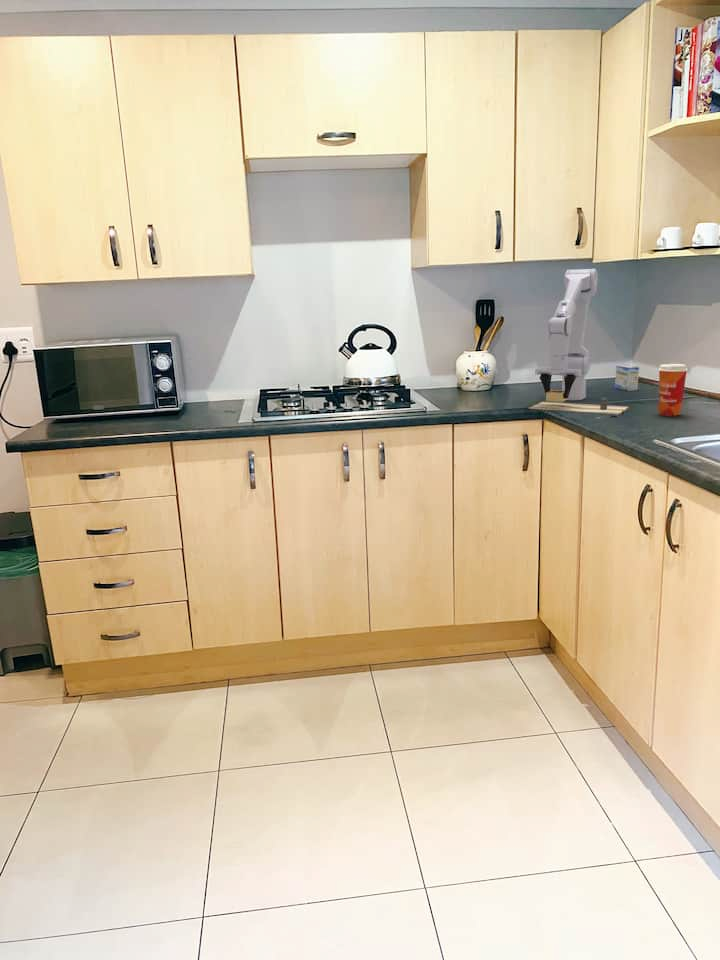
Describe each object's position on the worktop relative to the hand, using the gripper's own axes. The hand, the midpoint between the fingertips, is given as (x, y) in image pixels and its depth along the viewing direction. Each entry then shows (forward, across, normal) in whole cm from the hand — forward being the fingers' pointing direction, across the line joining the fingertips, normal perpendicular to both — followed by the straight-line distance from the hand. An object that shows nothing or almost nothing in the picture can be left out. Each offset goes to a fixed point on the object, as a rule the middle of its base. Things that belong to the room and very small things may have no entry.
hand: (557, 397), depth 234 cm
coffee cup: (+4, +34, +3) cm, 34 cm away
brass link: (+1, 0, 0) cm, 1 cm away
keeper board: (+4, +7, 0) cm, 8 cm away
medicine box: (+4, +10, +51) cm, 52 cm away
